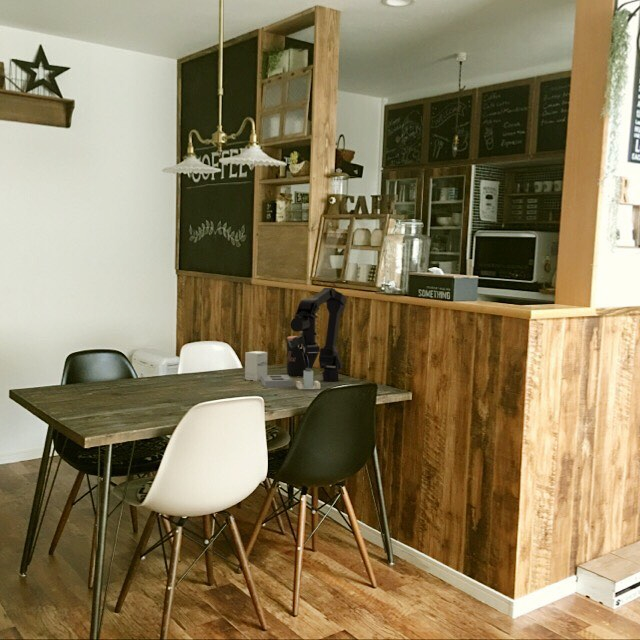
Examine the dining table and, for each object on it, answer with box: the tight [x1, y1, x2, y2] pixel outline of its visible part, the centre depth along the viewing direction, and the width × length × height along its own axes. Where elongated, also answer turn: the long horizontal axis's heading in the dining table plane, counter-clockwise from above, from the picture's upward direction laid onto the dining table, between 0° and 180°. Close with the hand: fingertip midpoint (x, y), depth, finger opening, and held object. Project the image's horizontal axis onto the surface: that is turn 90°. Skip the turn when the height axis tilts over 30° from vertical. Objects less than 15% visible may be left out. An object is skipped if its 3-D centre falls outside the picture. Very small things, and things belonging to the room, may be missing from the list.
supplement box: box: [244, 350, 268, 382], centre depth 331 cm, size 7×7×13 cm
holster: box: [295, 380, 321, 390], centre depth 307 cm, size 9×7×3 cm
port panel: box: [260, 374, 294, 389], centre depth 315 cm, size 12×16×4 cm
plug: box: [303, 368, 314, 388], centre depth 307 cm, size 4×4×8 cm
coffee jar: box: [286, 335, 309, 377], centre depth 345 cm, size 11×11×18 cm
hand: (308, 366), depth 307 cm, fingers open, 9 cm apart
